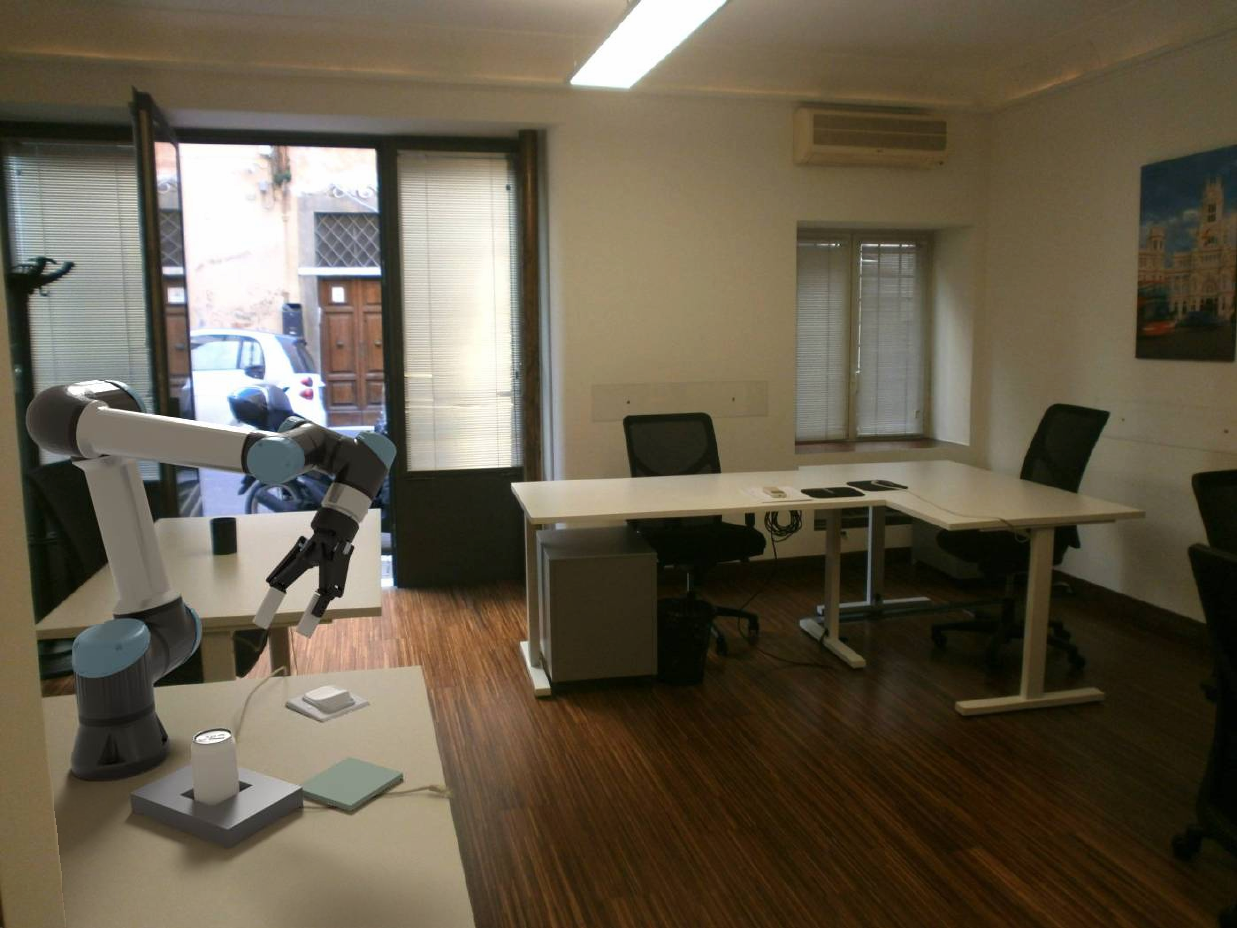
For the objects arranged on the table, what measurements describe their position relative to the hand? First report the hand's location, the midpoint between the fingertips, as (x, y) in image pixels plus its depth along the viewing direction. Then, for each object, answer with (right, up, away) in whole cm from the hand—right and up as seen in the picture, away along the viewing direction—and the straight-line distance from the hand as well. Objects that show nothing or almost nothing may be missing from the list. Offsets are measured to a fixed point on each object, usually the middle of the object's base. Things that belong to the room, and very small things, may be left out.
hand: (280, 630), depth 156 cm
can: (-8, -27, -6) cm, 28 cm away
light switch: (-2, -21, +33) cm, 39 cm away
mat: (+11, -25, +1) cm, 28 cm away
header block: (-8, -27, -6) cm, 28 cm away
